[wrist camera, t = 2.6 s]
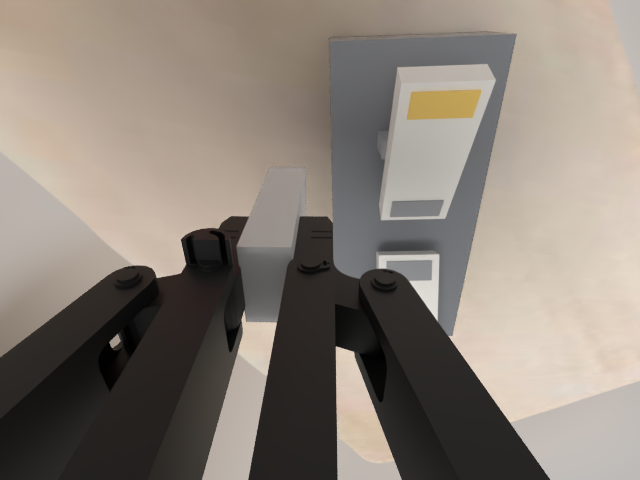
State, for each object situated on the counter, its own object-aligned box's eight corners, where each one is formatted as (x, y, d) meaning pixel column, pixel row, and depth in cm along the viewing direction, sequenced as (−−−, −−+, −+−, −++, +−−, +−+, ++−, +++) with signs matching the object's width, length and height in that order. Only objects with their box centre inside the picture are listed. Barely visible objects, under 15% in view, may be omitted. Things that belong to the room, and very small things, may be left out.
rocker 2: (376, 251, 31) (379, 255, 29) (433, 250, 31) (439, 254, 29) (376, 372, 33) (379, 383, 31) (430, 371, 32) (436, 382, 31)
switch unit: (329, 37, 28) (330, 43, 21) (492, 31, 28) (545, 35, 21) (334, 304, 42) (335, 358, 35) (442, 303, 42) (465, 357, 35)
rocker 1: (397, 67, 20) (401, 84, 19) (487, 63, 20) (496, 81, 19) (379, 204, 29) (381, 221, 27) (441, 203, 28) (445, 220, 27)
